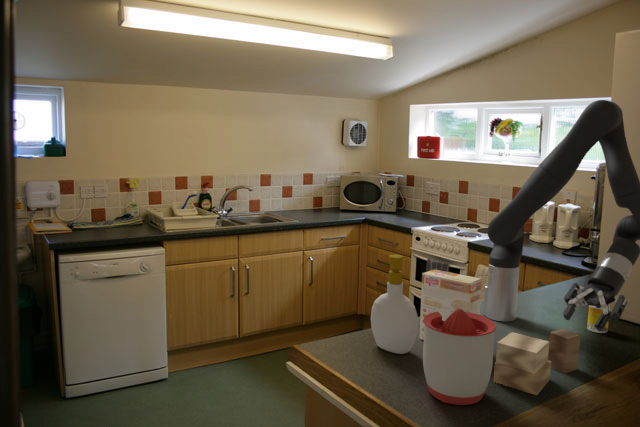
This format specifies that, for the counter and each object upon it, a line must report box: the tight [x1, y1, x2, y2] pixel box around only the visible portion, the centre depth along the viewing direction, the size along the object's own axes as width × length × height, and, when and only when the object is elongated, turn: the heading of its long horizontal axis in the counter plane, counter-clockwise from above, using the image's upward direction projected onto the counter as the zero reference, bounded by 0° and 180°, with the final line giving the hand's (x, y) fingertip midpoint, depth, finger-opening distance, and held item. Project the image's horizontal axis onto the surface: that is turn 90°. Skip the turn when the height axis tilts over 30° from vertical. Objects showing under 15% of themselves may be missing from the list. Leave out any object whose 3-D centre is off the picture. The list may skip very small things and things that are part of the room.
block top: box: [495, 331, 549, 374], centre depth 126 cm, size 9×9×5 cm
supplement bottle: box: [586, 305, 611, 334], centre depth 160 cm, size 6×6×10 cm
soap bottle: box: [370, 254, 419, 355], centre depth 143 cm, size 14×9×26 cm, turn 46°
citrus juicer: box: [422, 309, 497, 406], centre depth 120 cm, size 16×17×20 cm
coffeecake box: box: [419, 269, 483, 341], centre depth 148 cm, size 15×7×20 cm, turn 47°
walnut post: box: [548, 328, 581, 374], centre depth 134 cm, size 5×5×9 cm
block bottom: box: [492, 361, 552, 396], centre depth 127 cm, size 10×10×5 cm
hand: (581, 323), depth 136 cm, fingers open, 8 cm apart
